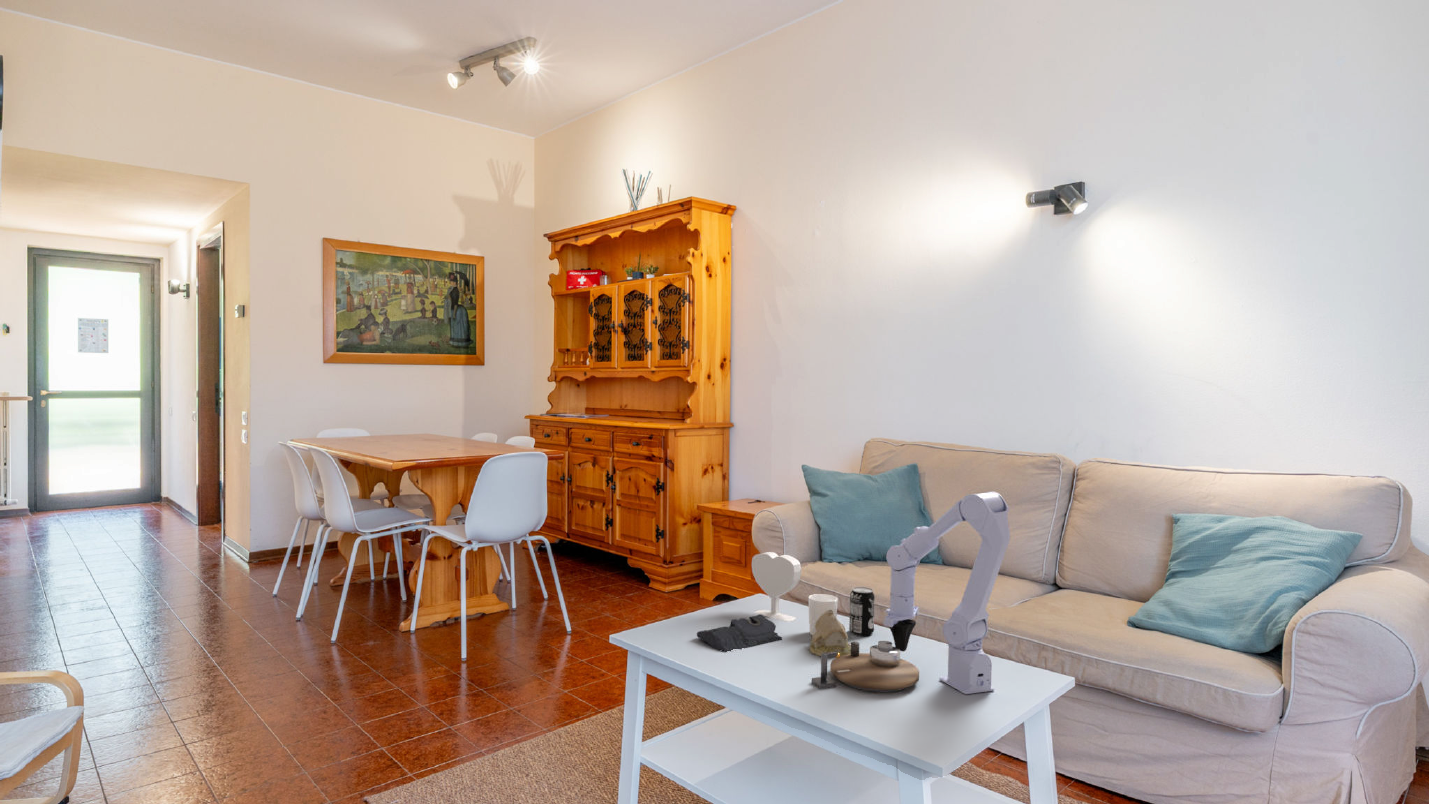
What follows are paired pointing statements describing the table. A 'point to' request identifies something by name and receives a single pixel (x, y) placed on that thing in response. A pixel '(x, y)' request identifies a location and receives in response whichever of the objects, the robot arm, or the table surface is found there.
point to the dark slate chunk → (741, 634)
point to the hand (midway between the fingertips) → (901, 650)
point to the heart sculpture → (775, 579)
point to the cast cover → (884, 655)
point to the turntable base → (874, 689)
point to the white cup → (820, 608)
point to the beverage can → (861, 611)
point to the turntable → (872, 671)
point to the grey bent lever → (825, 672)
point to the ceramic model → (830, 636)
